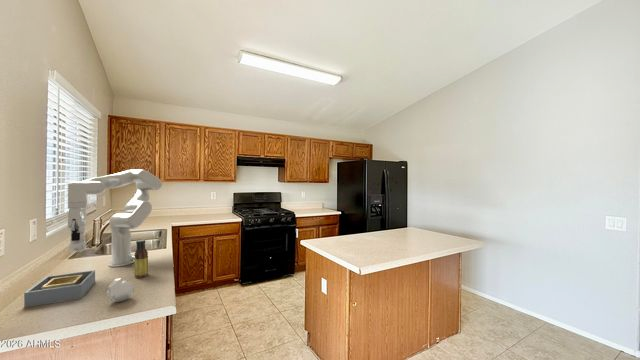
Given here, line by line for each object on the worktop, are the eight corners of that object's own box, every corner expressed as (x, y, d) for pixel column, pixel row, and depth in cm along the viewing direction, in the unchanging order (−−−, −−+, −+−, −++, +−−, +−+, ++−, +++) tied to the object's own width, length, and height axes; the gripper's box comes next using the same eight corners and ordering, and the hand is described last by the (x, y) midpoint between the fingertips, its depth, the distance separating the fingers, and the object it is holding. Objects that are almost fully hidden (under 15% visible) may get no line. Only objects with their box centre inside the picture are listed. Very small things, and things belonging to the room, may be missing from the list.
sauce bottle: (139, 274, 143) (138, 238, 143) (150, 273, 144) (150, 238, 144) (131, 278, 137) (131, 241, 137) (143, 278, 137) (143, 241, 137)
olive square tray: (83, 284, 127) (83, 274, 127) (74, 293, 118) (74, 282, 117) (52, 288, 122) (52, 278, 122) (41, 298, 112) (41, 287, 112)
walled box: (95, 281, 133) (95, 270, 133) (81, 298, 115) (81, 284, 115) (47, 288, 125) (47, 276, 124) (24, 307, 107) (24, 293, 107)
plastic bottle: (89, 250, 138) (89, 212, 138) (73, 253, 132) (73, 214, 132) (81, 248, 140) (81, 212, 140) (66, 252, 134) (65, 214, 134)
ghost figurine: (111, 298, 115) (111, 275, 115) (136, 294, 119) (136, 273, 119) (102, 307, 107) (102, 283, 107) (129, 303, 110) (129, 280, 110)
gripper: (74, 203, 142) (74, 236, 142) (61, 207, 126) (61, 243, 127) (92, 203, 145) (92, 235, 145) (81, 206, 130) (81, 242, 130)
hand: (77, 238), depth 136 cm, fingers closed on plastic bottle, 5 cm apart
